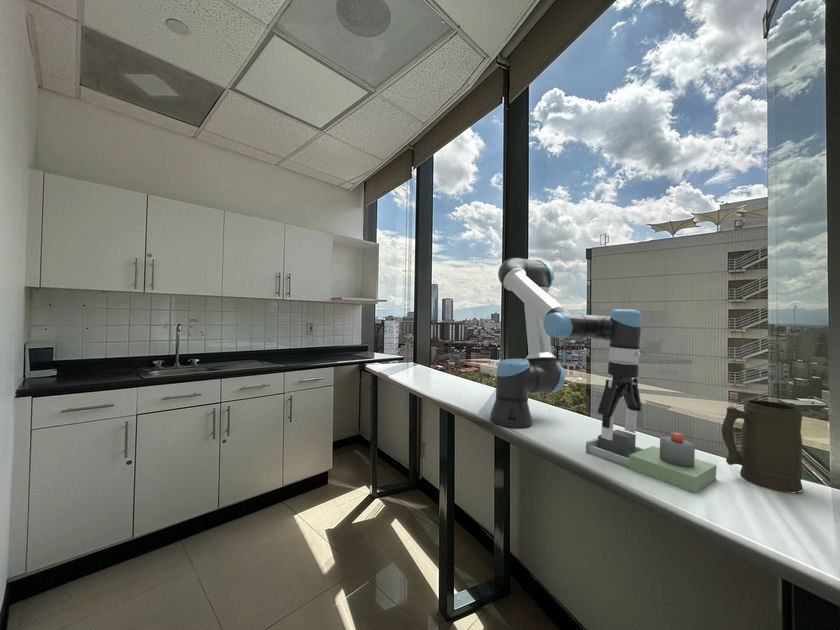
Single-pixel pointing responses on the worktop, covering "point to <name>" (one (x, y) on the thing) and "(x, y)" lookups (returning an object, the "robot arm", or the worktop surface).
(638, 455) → the green slab with knob
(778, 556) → the worktop surface
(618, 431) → the squat charcoal block
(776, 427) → the beer stein
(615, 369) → the robot arm
